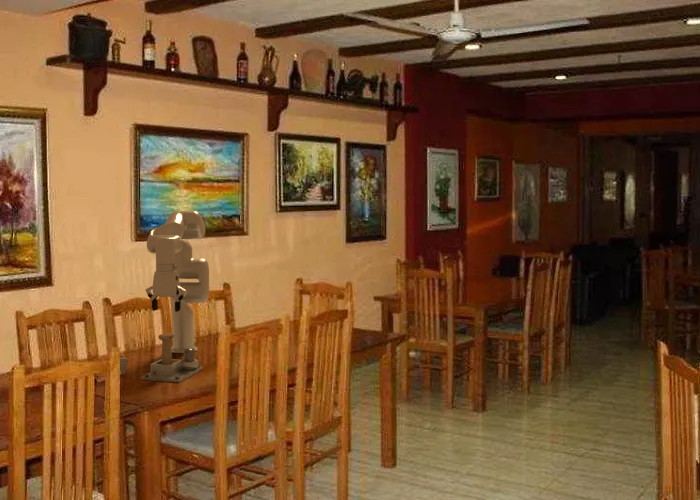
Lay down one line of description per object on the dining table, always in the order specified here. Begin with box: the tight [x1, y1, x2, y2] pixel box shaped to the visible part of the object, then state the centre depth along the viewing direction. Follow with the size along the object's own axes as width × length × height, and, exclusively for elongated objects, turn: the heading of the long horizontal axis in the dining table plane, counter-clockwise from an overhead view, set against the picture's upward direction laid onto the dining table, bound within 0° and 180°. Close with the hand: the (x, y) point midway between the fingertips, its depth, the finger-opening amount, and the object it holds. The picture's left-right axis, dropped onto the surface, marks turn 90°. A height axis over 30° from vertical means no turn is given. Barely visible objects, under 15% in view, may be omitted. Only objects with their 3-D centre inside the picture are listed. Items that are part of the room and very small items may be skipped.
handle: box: [158, 332, 174, 365], centre depth 316 cm, size 5×6×15 cm
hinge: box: [97, 354, 129, 380], centre depth 312 cm, size 17×5×10 cm, turn 158°
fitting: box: [141, 348, 203, 383], centre depth 317 cm, size 22×16×9 cm
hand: (166, 310), depth 315 cm, fingers open, 9 cm apart
